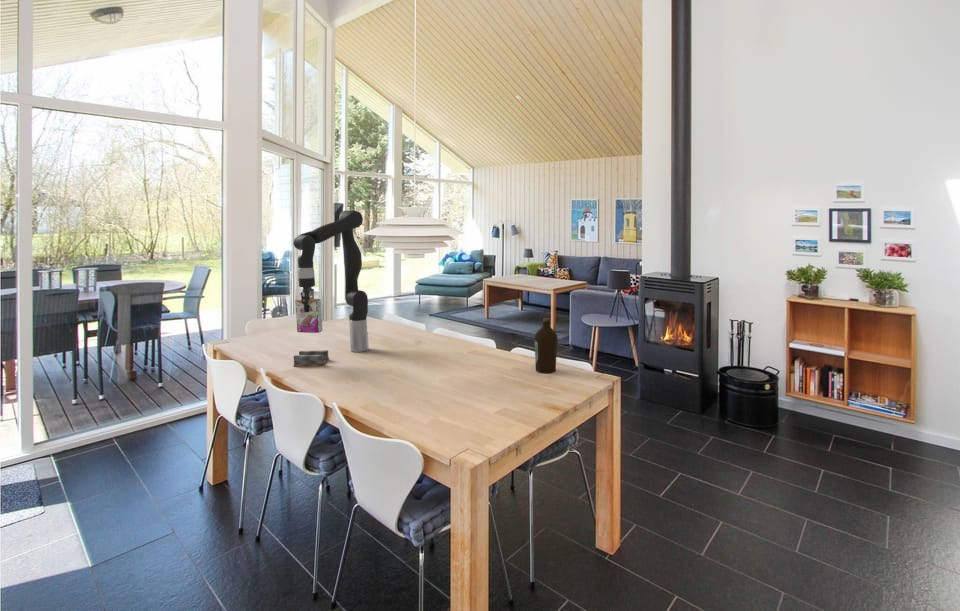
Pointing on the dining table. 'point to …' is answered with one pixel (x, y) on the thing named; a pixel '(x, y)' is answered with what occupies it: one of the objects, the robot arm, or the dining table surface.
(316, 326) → the candy bar box
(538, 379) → the dining table surface
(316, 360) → the rail holder
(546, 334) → the olive oil
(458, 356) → the dining table surface
